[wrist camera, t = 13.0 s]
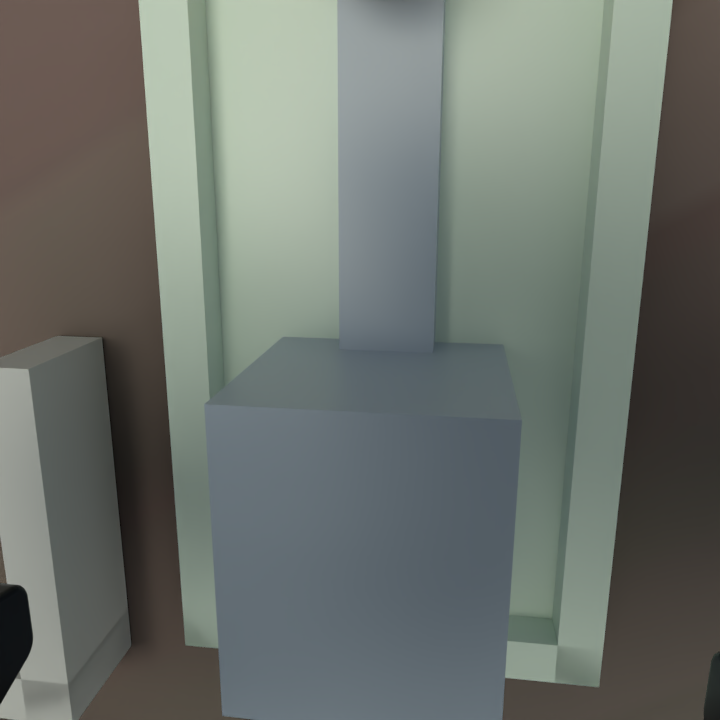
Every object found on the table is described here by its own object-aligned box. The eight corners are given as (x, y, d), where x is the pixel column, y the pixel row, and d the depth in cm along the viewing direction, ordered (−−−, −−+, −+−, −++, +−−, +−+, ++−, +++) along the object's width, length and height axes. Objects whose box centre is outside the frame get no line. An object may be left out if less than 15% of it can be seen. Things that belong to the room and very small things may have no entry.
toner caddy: (489, 584, 17) (500, 747, 12) (288, 567, 17) (222, 716, 12) (530, -135, 13) (571, -326, 8) (270, -119, 13) (164, -286, 9)
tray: (587, 644, 17) (598, 686, 16) (206, 609, 19) (185, 645, 17) (692, -396, 12) (724, -477, 10) (147, -338, 13) (109, -400, 12)
